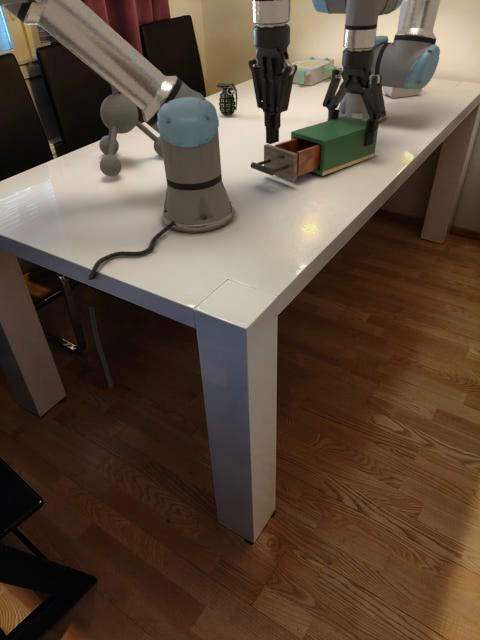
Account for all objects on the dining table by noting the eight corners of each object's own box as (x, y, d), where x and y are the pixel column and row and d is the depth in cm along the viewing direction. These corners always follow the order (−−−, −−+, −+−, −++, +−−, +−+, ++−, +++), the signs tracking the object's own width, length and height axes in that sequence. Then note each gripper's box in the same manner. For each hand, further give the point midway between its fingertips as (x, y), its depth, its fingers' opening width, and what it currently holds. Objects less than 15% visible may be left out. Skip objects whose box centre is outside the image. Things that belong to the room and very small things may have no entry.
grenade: (217, 117, 168) (214, 86, 162) (221, 112, 172) (219, 82, 166) (235, 117, 166) (233, 86, 160) (239, 113, 171) (238, 82, 165)
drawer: (275, 188, 113) (275, 160, 109) (246, 176, 120) (245, 150, 116) (345, 162, 126) (348, 136, 122) (316, 152, 132) (318, 128, 128)
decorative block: (302, 55, 216) (343, 58, 206) (301, 71, 220) (342, 74, 210) (270, 66, 200) (313, 70, 190) (270, 83, 204) (313, 88, 194)
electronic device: (391, 98, 176) (404, -1, 158) (381, 93, 182) (392, -2, 163) (421, 94, 178) (438, -4, 160) (410, 90, 184) (425, -5, 166)
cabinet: (322, 176, 121) (325, 141, 116) (289, 164, 129) (291, 131, 123) (374, 156, 132) (378, 123, 127) (341, 146, 139) (344, 115, 134)
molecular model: (186, 167, 131) (171, 41, 113) (104, 183, 125) (74, 52, 107) (164, 142, 149) (148, 29, 130) (91, 155, 143) (64, 38, 125)
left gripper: (308, 24, 96) (304, 144, 111) (263, 20, 104) (265, 132, 119) (280, 29, 93) (280, 152, 107) (236, 24, 101) (242, 140, 115)
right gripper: (410, 51, 112) (395, 146, 126) (331, 42, 127) (326, 128, 140) (390, 56, 109) (377, 153, 122) (311, 46, 123) (308, 134, 137)
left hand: (272, 142), depth 113 cm, fingers closed
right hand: (350, 140), depth 131 cm, fingers closed on cabinet, 11 cm apart
